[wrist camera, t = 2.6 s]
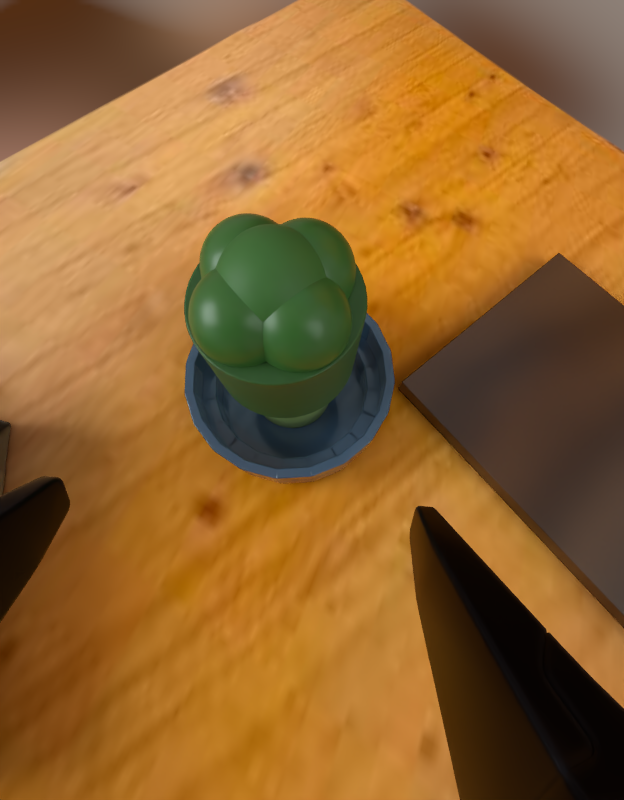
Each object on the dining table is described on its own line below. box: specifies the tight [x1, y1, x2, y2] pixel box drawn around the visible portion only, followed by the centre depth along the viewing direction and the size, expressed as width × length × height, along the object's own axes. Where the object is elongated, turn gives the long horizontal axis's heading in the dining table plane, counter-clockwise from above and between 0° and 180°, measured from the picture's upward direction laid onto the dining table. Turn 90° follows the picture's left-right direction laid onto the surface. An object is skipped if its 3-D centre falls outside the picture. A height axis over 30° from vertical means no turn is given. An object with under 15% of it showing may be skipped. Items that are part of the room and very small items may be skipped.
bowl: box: [185, 313, 395, 484], centre depth 22 cm, size 11×11×4 cm
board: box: [398, 253, 624, 627], centre depth 22 cm, size 22×15×1 cm
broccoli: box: [184, 213, 367, 428], centre depth 17 cm, size 7×7×13 cm
